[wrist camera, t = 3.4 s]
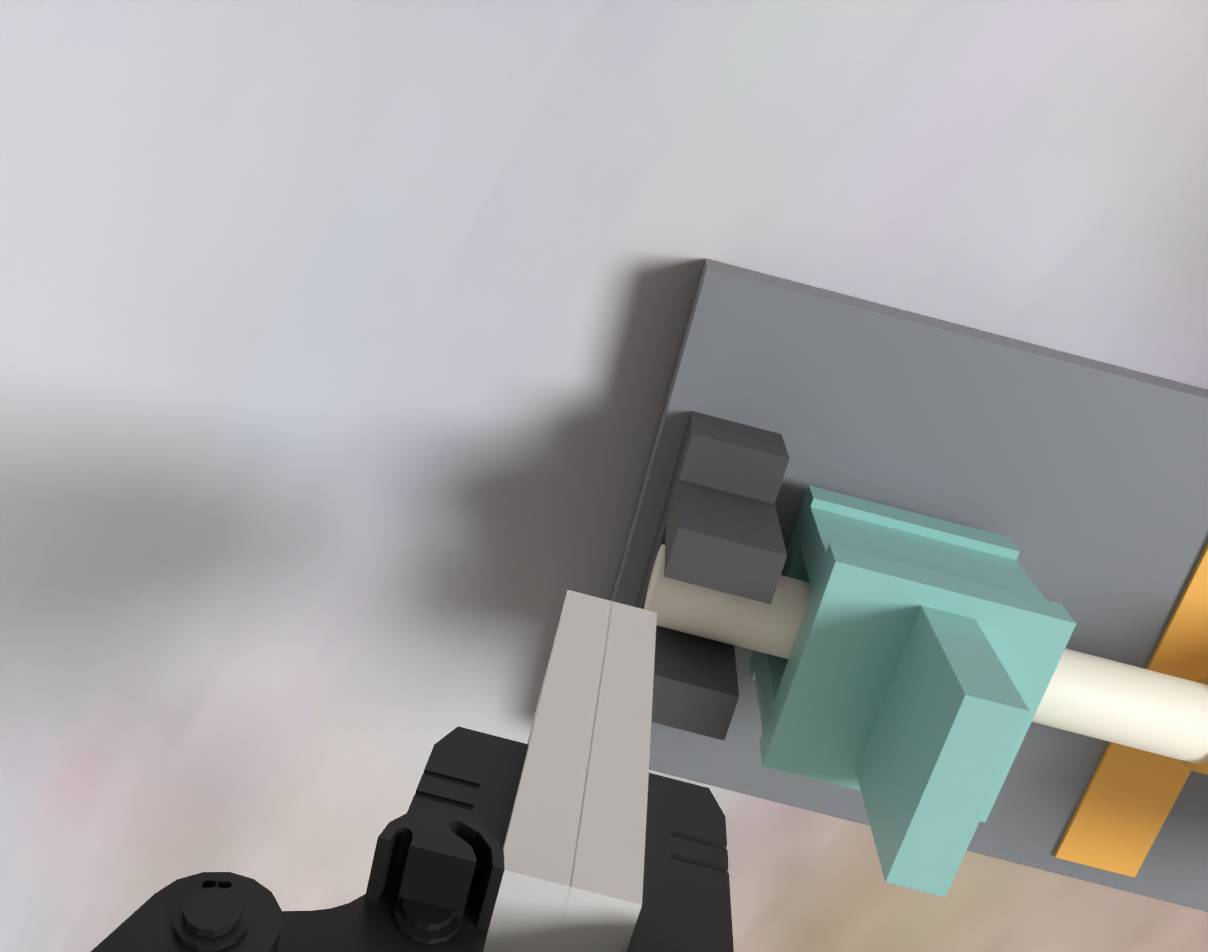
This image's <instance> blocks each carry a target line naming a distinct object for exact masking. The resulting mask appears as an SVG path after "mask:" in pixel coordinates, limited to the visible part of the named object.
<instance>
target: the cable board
mask: <svg viewBox="0 0 1208 952" xmlns="http://www.w3.org/2000/svg"><path fill="white" fill-rule="evenodd" d="M809 485H810V486H814V487H818V488H822V489H826V490H830V491H833V492H837V493H841V494H845V495H849V496H853V497H857V498H861V499H864V500H868V501H872V502H876V503H880V504H884V505H888V506H891V507H895V508H899V509H903V510H907V511H911V512H915V513H918V514H922V515H926V516H930V517H934V518H938V519H942V520H945V521H949V522H953V523H957V524H961V525H965V526H969V527H972V528H976V529H980V530H984V531H988V532H992V533H996V534H999V535H1003V536H1007V537H1009V539H1010V540H1011V541H1012V542H1013V544H1014V545H1015V546H1016V547H1017V549H1018V550H1019V551H1020V552H1019V555H1018V557H1017V559H1016V561H1017V562H1018V563H1019V565H1020V566H1021V567H1022V568H1023V570H1024V571H1025V572H1026V574H1027V575H1028V576H1029V578H1030V579H1031V580H1032V582H1033V583H1034V584H1035V585H1036V587H1037V588H1038V589H1039V591H1040V592H1041V593H1042V595H1043V596H1044V597H1045V599H1046V600H1049V601H1053V602H1057V603H1061V605H1062V606H1063V607H1064V608H1065V610H1066V611H1067V612H1068V613H1069V615H1070V616H1071V617H1072V618H1073V620H1074V621H1075V622H1076V626H1075V628H1074V630H1073V632H1072V635H1071V637H1070V639H1069V641H1068V643H1067V646H1066V648H1065V650H1064V652H1063V654H1062V656H1061V659H1060V661H1059V663H1058V665H1057V667H1056V670H1055V672H1054V674H1053V676H1052V678H1051V680H1050V683H1049V685H1048V687H1047V689H1046V691H1045V694H1044V696H1043V698H1042V700H1041V702H1040V705H1039V707H1038V709H1037V711H1036V713H1035V715H1034V718H1033V720H1032V722H1031V724H1030V726H1029V729H1028V731H1027V733H1026V735H1025V737H1024V739H1023V742H1022V744H1021V746H1020V748H1019V750H1018V753H1017V755H1016V757H1015V759H1014V761H1013V763H1012V766H1011V768H1010V770H1009V772H1008V774H1007V777H1006V779H1005V781H1004V783H1003V785H1002V788H1001V790H1000V792H999V794H998V796H997V798H996V801H995V803H994V805H993V807H992V809H991V812H990V814H989V816H988V818H987V820H986V822H981V821H980V822H979V824H978V826H977V829H976V831H975V833H974V835H973V837H972V839H971V842H970V844H969V846H968V848H967V851H971V852H975V853H979V854H983V855H987V856H991V857H995V858H999V859H1002V860H1006V861H1010V862H1014V863H1018V864H1022V865H1026V866H1030V867H1034V868H1038V869H1042V870H1046V871H1050V872H1053V873H1057V874H1061V875H1065V876H1069V877H1073V878H1077V879H1081V880H1085V881H1089V882H1093V883H1097V884H1101V885H1104V886H1108V887H1112V888H1116V889H1120V890H1124V891H1128V892H1132V893H1136V894H1140V895H1144V896H1148V897H1152V898H1155V899H1159V900H1163V901H1167V902H1171V903H1175V904H1179V905H1183V906H1187V907H1191V908H1195V909H1199V910H1203V911H1206V912H1208V390H1206V389H1202V388H1198V387H1194V386H1191V385H1187V384H1183V383H1179V382H1175V381H1172V380H1168V379H1164V378H1160V377H1156V376H1152V375H1149V374H1145V373H1141V372H1137V371H1133V370H1130V369H1126V368H1122V367H1118V366H1114V365H1110V364H1107V363H1103V362H1099V361H1095V360H1091V359H1088V358H1084V357H1080V356H1076V355H1072V354H1068V353H1065V352H1061V351H1057V350H1053V349H1049V348H1046V347H1042V346H1038V345H1034V344H1030V343H1026V342H1023V341H1019V340H1015V339H1011V338H1007V337H1003V336H1000V335H996V334H992V333H988V332H984V331H981V330H977V329H973V328H969V327H965V326H961V325H958V324H954V323H950V322H946V321H942V320H939V319H935V318H931V317H927V316H923V315H919V314H916V313H912V312H908V311H904V310H900V309H897V308H893V307H889V306H885V305H881V304H877V303H874V302H870V301H866V300H862V299H858V298H855V297H851V296H847V295H843V294H839V293H835V292H832V291H828V290H824V289H820V288H816V287H812V286H809V285H805V284H801V283H797V282H793V281H790V280H786V279H782V278H778V277H774V276H770V275H767V274H763V273H759V272H755V271H751V270H748V269H744V268H740V267H736V266H732V265H728V264H725V263H721V262H717V261H713V260H709V259H705V263H704V267H703V270H702V274H701V277H700V281H699V285H698V288H697V292H696V295H695V299H694V302H693V306H692V310H691V313H690V317H689V320H688V324H687V328H686V331H685V335H684V338H683V342H682V346H681V349H680V353H679V356H678V360H677V364H676V367H675V371H674V374H673V378H672V382H671V385H670V389H669V392H668V396H667V400H666V403H665V407H664V410H663V414H662V417H661V421H660V425H659V428H658V432H657V435H656V439H655V443H654V446H653V450H652V453H651V457H650V461H649V464H648V468H647V471H646V475H645V479H644V482H643V486H642V489H641V493H640V497H639V500H638V504H637V507H636V511H635V514H634V518H633V522H632V525H631V529H630V532H629V536H628V540H627V543H626V547H625V550H624V554H623V558H622V561H621V565H620V568H619V572H618V576H617V579H616V583H615V586H614V590H613V594H612V597H611V601H614V602H617V603H621V604H625V605H629V606H633V607H637V608H641V609H644V610H648V611H652V612H656V613H657V621H656V640H655V660H654V680H653V699H652V719H651V738H650V758H649V770H653V771H657V772H661V773H665V774H669V775H673V776H677V777H681V778H685V779H689V780H693V781H696V782H700V783H704V784H708V785H712V786H716V787H720V788H724V789H728V790H732V791H736V792H740V793H744V794H747V795H751V796H755V797H759V798H763V799H767V800H771V801H775V802H779V803H783V804H787V805H791V806H795V807H798V808H802V809H806V810H810V811H814V812H818V813H822V814H826V815H830V816H834V817H838V818H842V819H846V820H849V821H853V822H857V823H861V824H865V825H869V826H870V823H869V819H868V815H867V811H866V808H865V804H864V800H863V796H862V793H861V791H859V790H855V789H852V788H848V787H844V786H840V785H836V784H832V783H828V782H824V781H820V780H816V779H812V778H809V777H805V776H801V775H797V774H793V773H789V772H785V771H781V770H777V769H773V768H769V767H765V766H763V765H762V757H761V749H760V739H761V736H762V726H761V718H760V711H759V703H758V696H757V688H756V680H753V679H752V678H751V670H750V662H749V661H750V658H751V655H752V652H753V650H754V651H758V652H762V653H766V654H770V655H774V656H778V657H782V658H786V659H789V657H790V654H791V651H792V648H793V645H794V643H795V640H796V637H797V634H798V631H799V629H800V626H801V623H802V620H803V617H804V614H805V612H806V609H807V606H808V603H809V600H810V597H811V595H812V592H813V591H812V587H811V584H810V582H806V581H802V580H799V579H795V578H791V577H787V576H783V575H781V572H782V569H783V566H784V563H785V561H786V558H787V553H786V551H787V548H788V546H789V543H790V540H791V537H792V534H793V531H794V528H795V525H796V522H797V519H798V516H799V513H800V510H801V507H802V504H803V501H804V498H805V495H806V492H807V489H808V486H809Z"/></svg>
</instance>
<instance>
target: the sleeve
mask: <svg viewBox="0 0 1208 952" xmlns="http://www.w3.org/2000/svg"><path fill="white" fill-rule="evenodd" d="M1019 552H1020V551H1019V550H1018V549H1017V547H1016V546H1015V545H1014V544H1013V542H1012V541H1011V540H1010V539H1009V537H1007V536H1003V535H999V534H996V533H992V532H988V531H984V530H980V529H976V528H972V527H969V526H965V525H961V524H957V523H953V522H949V521H945V520H942V519H938V518H934V517H930V516H926V515H922V514H918V513H915V512H911V511H907V510H903V509H899V508H895V507H891V506H888V505H884V504H880V503H876V502H872V501H868V500H864V499H861V498H857V497H853V496H849V495H845V494H841V493H837V492H833V491H830V490H826V489H822V488H818V487H814V486H810V485H809V486H808V489H807V492H806V495H805V498H804V501H803V504H802V507H801V510H800V513H799V516H798V519H797V522H796V525H795V528H794V531H793V534H792V537H791V540H790V543H789V546H788V548H787V551H786V553H787V558H786V561H785V563H784V566H783V569H782V572H781V575H783V576H787V577H791V578H795V579H799V580H802V581H806V582H810V584H811V587H812V591H813V592H812V595H811V597H810V600H809V603H808V606H807V609H806V612H805V614H804V617H803V620H802V623H801V626H800V629H799V631H798V634H797V637H796V640H795V643H794V645H793V648H792V651H791V654H790V657H789V659H786V658H782V657H778V656H774V655H770V654H766V653H762V652H758V651H754V650H753V652H752V655H751V658H750V661H749V662H750V670H751V678H752V679H753V680H756V688H757V696H758V703H759V711H760V718H761V726H762V736H761V739H760V749H761V757H762V765H763V766H765V767H769V768H773V769H777V770H781V771H785V772H789V773H793V774H797V775H801V776H805V777H809V778H812V779H816V780H820V781H824V782H828V783H832V784H836V785H840V786H844V787H848V788H852V789H855V790H859V791H861V793H862V796H863V800H864V804H865V808H866V811H867V815H868V819H869V823H870V826H871V830H872V834H873V837H874V841H875V845H876V849H877V852H878V856H879V860H880V864H881V867H882V871H883V875H884V878H885V882H887V883H891V884H895V885H899V886H903V887H907V888H911V889H915V890H919V891H923V892H927V893H930V894H934V895H938V896H942V897H946V894H947V892H948V890H949V888H950V886H951V883H952V881H953V879H954V877H955V875H956V872H957V870H958V868H959V866H960V864H961V861H962V859H963V857H964V855H965V853H966V850H967V848H968V846H969V844H970V842H971V839H972V837H973V835H974V833H975V831H976V829H977V826H978V824H979V822H980V821H981V822H986V820H987V818H988V816H989V814H990V812H991V809H992V807H993V805H994V803H995V801H996V798H997V796H998V794H999V792H1000V790H1001V788H1002V785H1003V783H1004V781H1005V779H1006V777H1007V774H1008V772H1009V770H1010V768H1011V766H1012V763H1013V761H1014V759H1015V757H1016V755H1017V753H1018V750H1019V748H1020V746H1021V744H1022V742H1023V739H1024V737H1025V735H1026V733H1027V731H1028V729H1029V726H1030V724H1031V722H1032V720H1033V718H1034V715H1035V713H1036V711H1037V709H1038V707H1039V705H1040V702H1041V700H1042V698H1043V696H1044V694H1045V691H1046V689H1047V687H1048V685H1049V683H1050V680H1051V678H1052V676H1053V674H1054V672H1055V670H1056V667H1057V665H1058V663H1059V661H1060V659H1061V656H1062V654H1063V652H1064V650H1065V648H1066V646H1067V643H1068V641H1069V639H1070V637H1071V635H1072V632H1073V630H1074V628H1075V626H1076V622H1075V621H1074V620H1073V618H1072V617H1071V616H1070V615H1069V613H1068V612H1067V611H1066V610H1065V608H1064V607H1063V606H1062V605H1061V603H1057V602H1053V601H1049V600H1046V599H1045V597H1044V596H1043V595H1042V593H1041V592H1040V591H1039V589H1038V588H1037V587H1036V585H1035V584H1034V583H1033V582H1032V580H1031V579H1030V578H1029V576H1028V575H1027V574H1026V572H1025V571H1024V570H1023V568H1022V567H1021V566H1020V565H1019V563H1018V562H1017V561H1016V559H1017V557H1018V555H1019Z"/></svg>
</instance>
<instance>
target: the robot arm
mask: <svg viewBox="0 0 1208 952" xmlns="http://www.w3.org/2000/svg"><path fill="white" fill-rule="evenodd" d="M656 621H657V613H656V612H652V611H648V610H644V609H641V608H637V607H633V606H629V605H625V604H621V603H617V602H614V601H610V600H606V599H602V598H598V597H594V596H590V595H587V594H583V593H579V592H575V591H571V590H567V593H566V597H565V601H564V605H563V609H562V612H561V616H560V620H559V624H558V628H557V631H556V635H555V639H554V643H553V647H552V650H551V654H550V658H549V662H548V666H547V669H546V673H545V677H544V681H543V685H542V688H541V692H540V696H539V700H538V704H537V707H536V711H535V715H534V719H533V723H532V726H531V730H530V734H529V738H528V742H527V744H524V743H520V742H516V741H512V740H508V739H505V738H501V737H497V736H493V735H489V734H485V733H481V732H477V731H473V730H470V729H466V728H462V727H457V728H455V729H454V730H453V731H452V732H450V733H449V734H448V735H446V736H445V737H444V738H442V739H441V740H440V741H439V742H437V743H436V744H435V745H434V747H433V750H432V752H431V755H430V757H429V760H428V762H427V765H426V767H425V770H424V773H423V775H422V777H421V780H420V782H419V785H418V787H417V790H416V793H415V796H414V797H413V800H412V802H411V805H410V807H409V810H408V812H407V814H405V815H403V816H401V817H399V818H397V819H395V820H393V821H391V822H389V824H388V825H387V826H386V828H385V829H384V830H383V832H382V833H381V834H380V835H379V837H378V840H377V845H376V849H375V854H374V859H373V863H372V868H371V873H370V877H369V882H368V887H367V892H366V894H365V895H363V896H361V897H359V898H358V899H356V900H354V901H352V902H350V903H348V904H345V905H342V906H338V907H335V908H332V909H324V910H315V911H281V908H280V907H279V905H278V903H277V901H276V899H275V897H274V896H273V894H272V892H271V891H269V890H268V889H266V888H265V887H264V886H262V885H261V884H260V883H258V882H257V881H255V880H254V879H251V878H248V877H244V876H241V875H237V874H234V873H231V872H203V873H199V874H196V875H192V876H189V877H185V878H181V879H178V880H176V881H174V882H173V883H171V884H170V885H168V886H166V887H165V888H163V889H162V890H160V891H159V892H157V893H155V894H154V895H153V896H152V897H151V898H150V899H149V900H148V901H147V902H145V903H144V904H143V905H142V906H141V907H140V908H139V909H138V910H137V911H135V912H134V913H133V914H132V915H131V916H130V917H129V918H128V919H127V920H125V921H124V922H123V923H122V924H121V925H120V926H119V927H118V928H117V929H115V930H114V931H113V932H112V933H111V934H110V935H109V936H108V937H107V938H106V939H104V940H103V941H102V942H101V943H100V944H99V945H98V946H97V947H96V948H94V949H93V950H92V951H91V952H734V950H733V934H732V918H731V902H730V886H729V873H727V871H728V854H727V850H726V846H727V838H726V822H725V815H724V814H723V812H722V810H721V808H720V807H719V805H718V803H717V801H716V800H715V798H714V796H713V795H712V793H711V791H710V789H709V788H706V787H702V786H698V785H694V784H690V783H686V782H682V781H678V780H675V779H671V778H667V777H663V776H659V775H655V774H651V773H649V758H650V738H651V719H652V699H653V680H654V660H655V640H656Z"/></svg>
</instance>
